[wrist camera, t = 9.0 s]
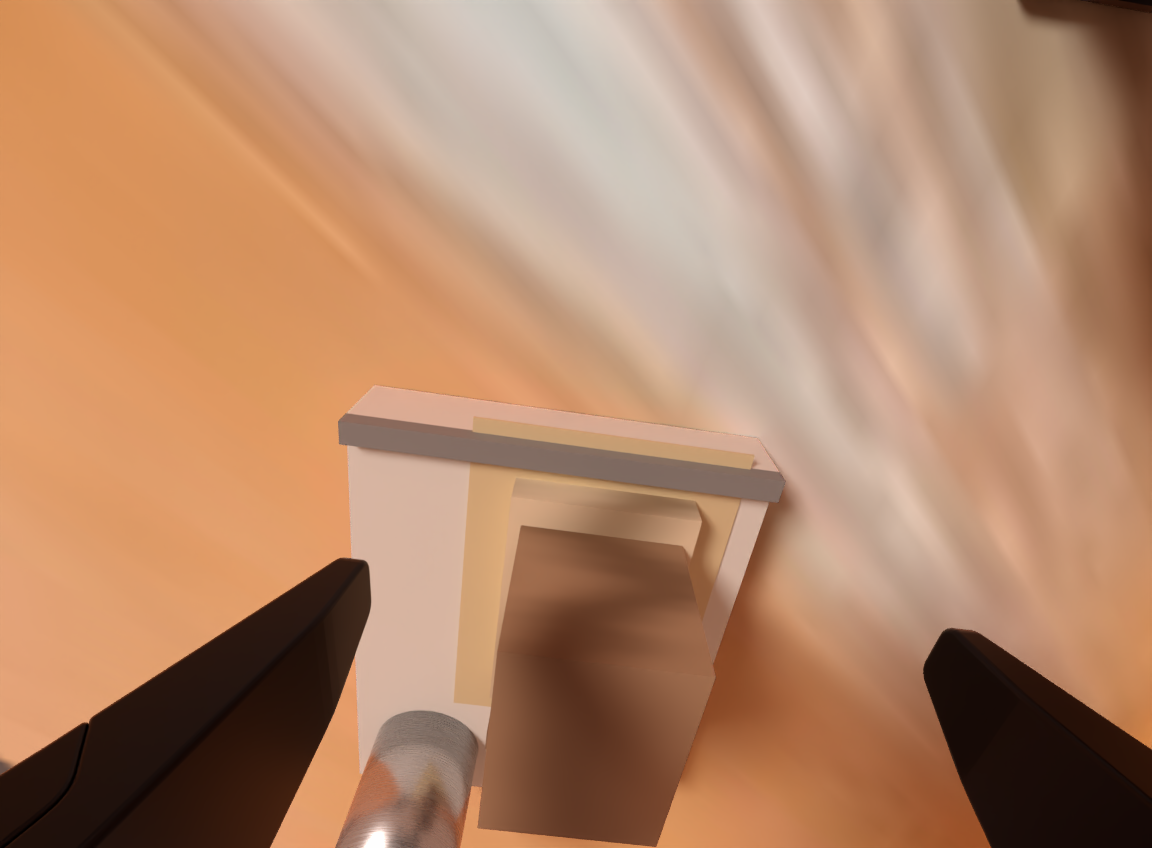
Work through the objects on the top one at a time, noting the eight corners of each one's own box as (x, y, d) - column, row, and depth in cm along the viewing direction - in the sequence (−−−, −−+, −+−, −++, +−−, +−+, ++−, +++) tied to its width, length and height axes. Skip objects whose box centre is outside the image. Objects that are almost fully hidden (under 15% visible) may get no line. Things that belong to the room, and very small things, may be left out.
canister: (483, 715, 23) (449, 898, 17) (477, 783, 25) (444, 968, 19) (373, 703, 23) (301, 884, 17) (375, 772, 25) (310, 956, 19)
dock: (761, 425, 20) (790, 467, 17) (657, 754, 28) (665, 820, 25) (374, 371, 19) (337, 406, 16) (379, 722, 27) (354, 787, 24)
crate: (694, 500, 18) (743, 648, 12) (643, 688, 22) (662, 867, 16) (515, 477, 18) (482, 617, 12) (494, 671, 22) (461, 846, 16)
